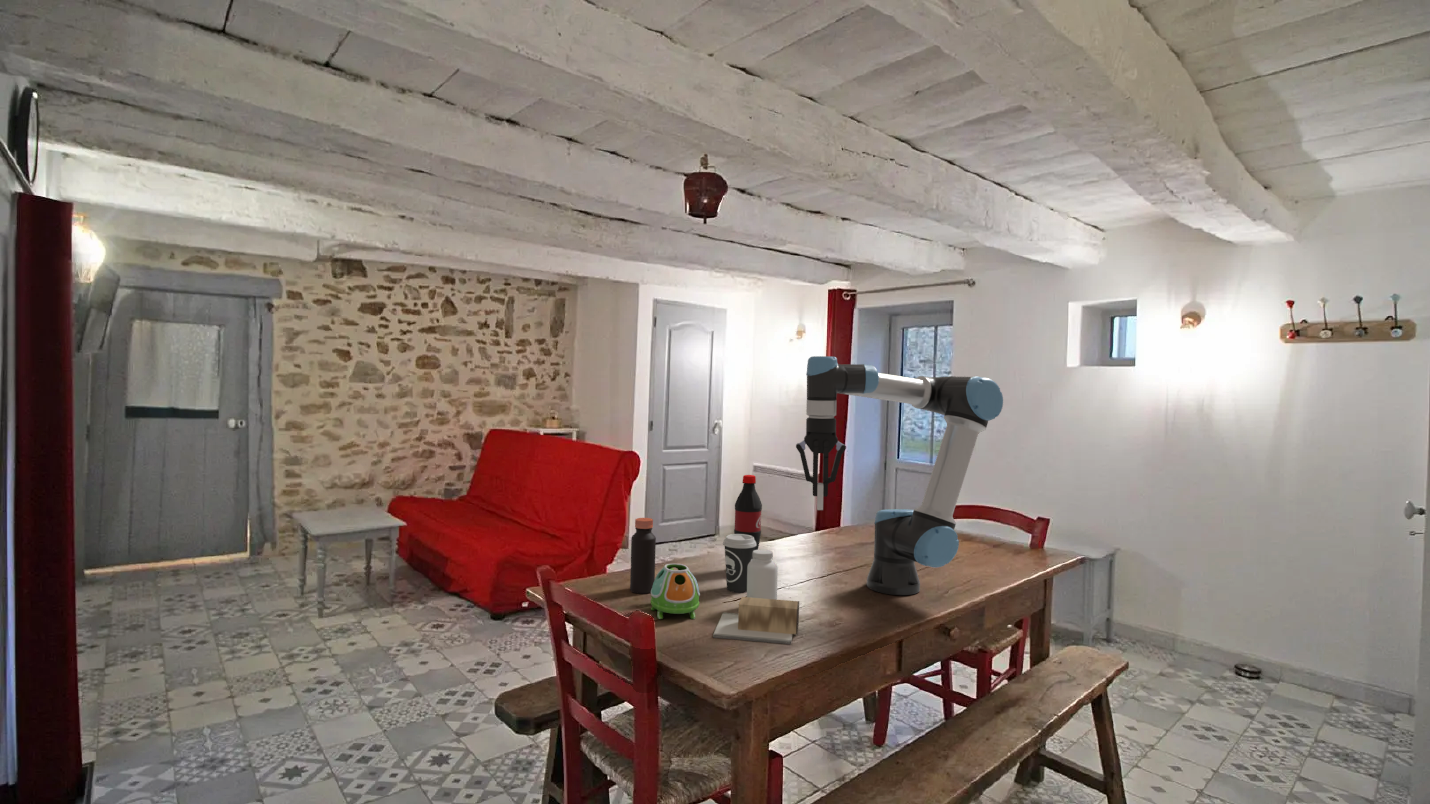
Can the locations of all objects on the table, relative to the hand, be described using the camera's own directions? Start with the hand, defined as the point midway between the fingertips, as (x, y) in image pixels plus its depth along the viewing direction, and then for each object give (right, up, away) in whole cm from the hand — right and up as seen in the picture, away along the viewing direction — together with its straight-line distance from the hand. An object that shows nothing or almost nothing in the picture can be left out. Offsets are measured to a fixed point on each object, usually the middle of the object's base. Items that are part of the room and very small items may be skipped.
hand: (819, 508), depth 185 cm
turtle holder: (-38, -26, 0) cm, 46 cm away
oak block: (-7, -24, -13) cm, 28 cm away
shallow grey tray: (-17, -27, -11) cm, 34 cm away
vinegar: (-47, -25, +17) cm, 56 cm away
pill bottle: (-15, -27, +5) cm, 31 cm away
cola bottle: (-17, -25, +40) cm, 51 cm away
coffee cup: (-20, -26, +21) cm, 39 cm away
